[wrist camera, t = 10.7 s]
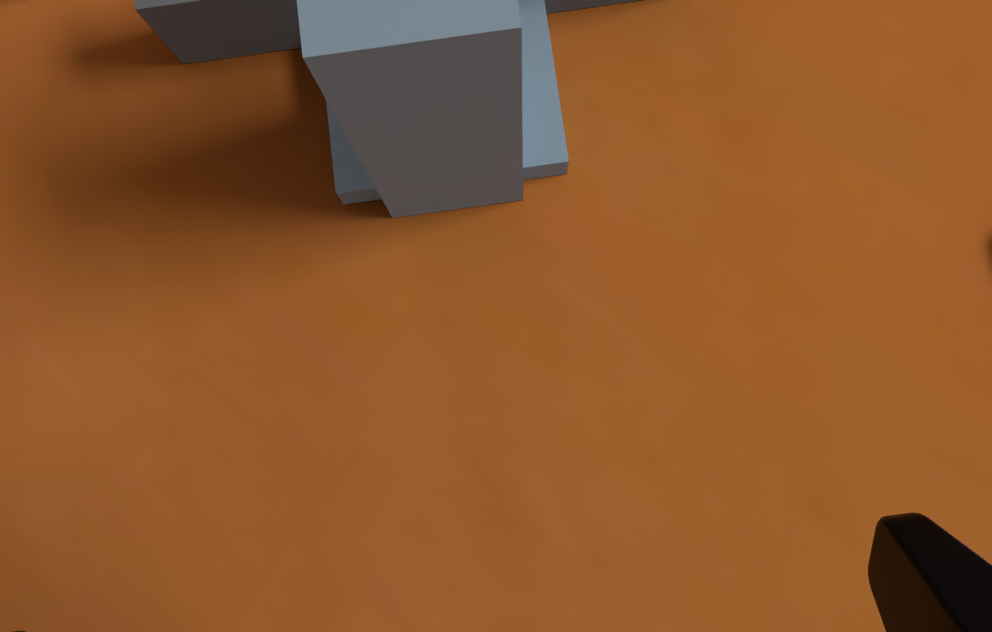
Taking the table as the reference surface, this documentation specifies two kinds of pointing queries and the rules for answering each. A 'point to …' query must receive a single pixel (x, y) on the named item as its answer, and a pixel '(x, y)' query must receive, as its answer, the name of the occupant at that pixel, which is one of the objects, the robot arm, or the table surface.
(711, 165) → the table surface
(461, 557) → the table surface
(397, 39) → the scraper
